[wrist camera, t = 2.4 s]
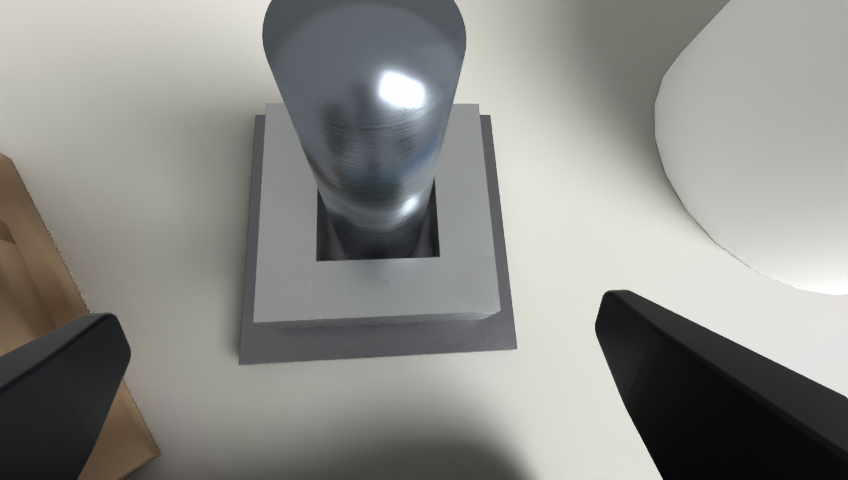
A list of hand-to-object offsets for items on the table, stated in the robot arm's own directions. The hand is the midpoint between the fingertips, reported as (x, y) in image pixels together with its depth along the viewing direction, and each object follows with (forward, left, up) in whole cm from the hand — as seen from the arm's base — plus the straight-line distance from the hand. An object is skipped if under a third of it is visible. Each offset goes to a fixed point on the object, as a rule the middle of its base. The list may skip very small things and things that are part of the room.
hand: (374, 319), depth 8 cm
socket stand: (+5, +3, -12) cm, 13 cm away
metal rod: (+5, +3, -11) cm, 12 cm away
